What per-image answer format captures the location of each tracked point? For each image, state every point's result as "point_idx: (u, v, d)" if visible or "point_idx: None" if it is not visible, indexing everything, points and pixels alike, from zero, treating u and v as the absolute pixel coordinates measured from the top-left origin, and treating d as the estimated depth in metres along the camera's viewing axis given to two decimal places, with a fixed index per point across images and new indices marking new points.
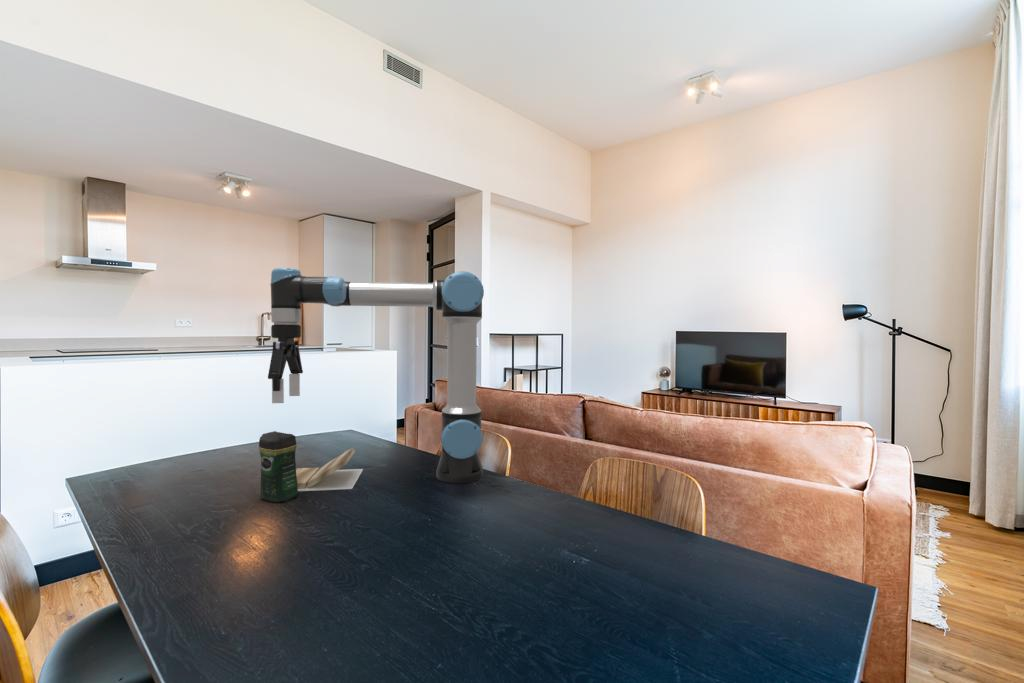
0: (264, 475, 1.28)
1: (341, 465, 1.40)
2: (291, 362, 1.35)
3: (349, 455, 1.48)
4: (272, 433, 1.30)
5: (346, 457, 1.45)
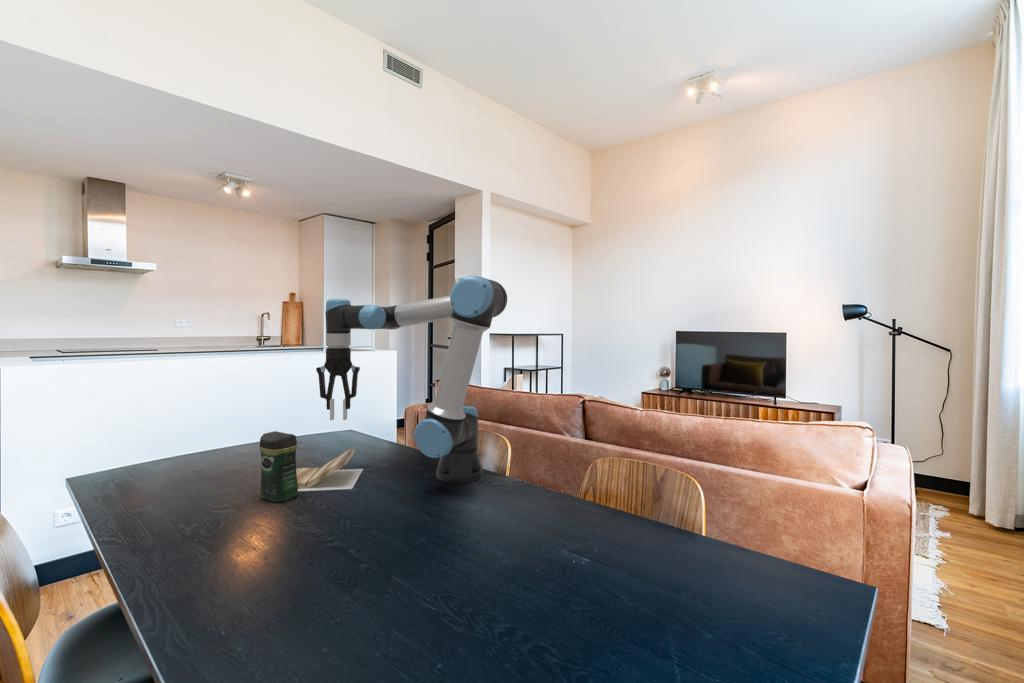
0: (265, 475, 1.28)
1: (341, 465, 1.40)
2: None
3: (349, 455, 1.48)
4: (273, 433, 1.30)
5: (346, 457, 1.45)
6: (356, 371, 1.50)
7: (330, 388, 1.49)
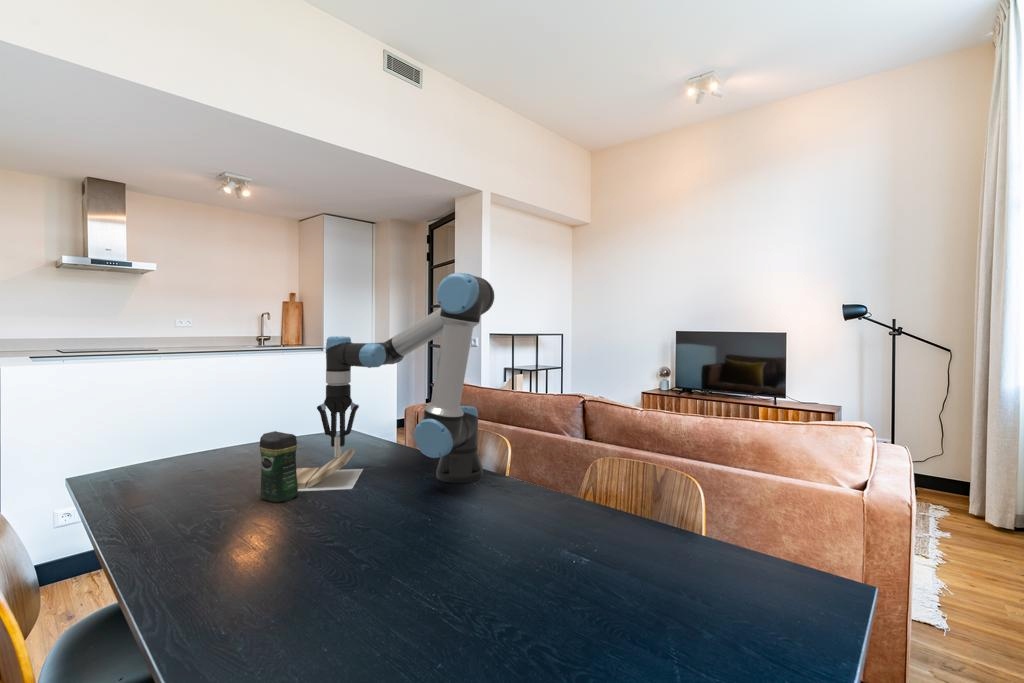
0: (265, 475, 1.28)
1: (341, 465, 1.40)
2: None
3: (349, 455, 1.48)
4: (273, 433, 1.30)
5: (346, 457, 1.45)
6: (355, 409, 1.50)
7: (333, 425, 1.50)
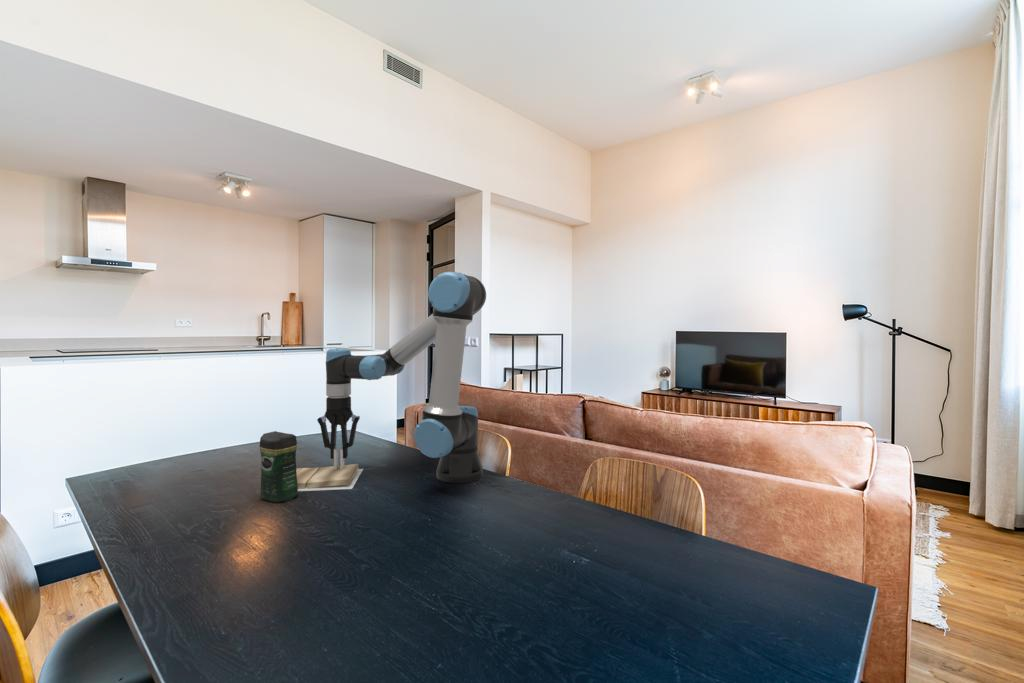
0: (265, 475, 1.28)
1: (345, 482, 1.40)
2: None
3: (354, 473, 1.49)
4: (273, 433, 1.30)
5: (351, 475, 1.45)
6: (356, 421, 1.51)
7: (333, 437, 1.50)
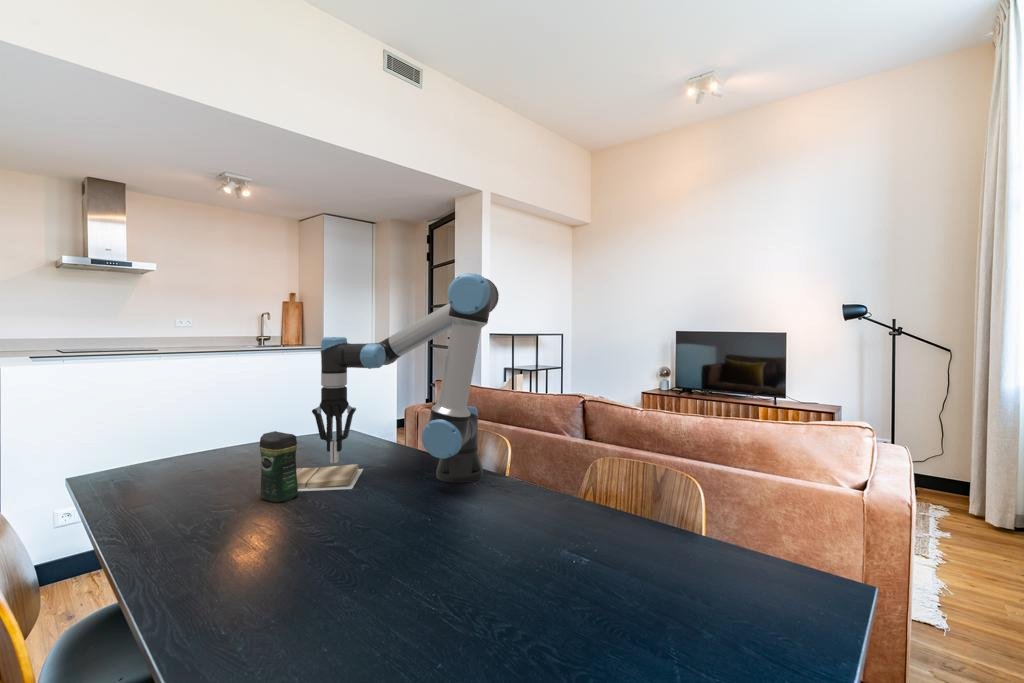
0: (265, 475, 1.28)
1: (345, 483, 1.40)
2: None
3: (354, 473, 1.49)
4: (273, 433, 1.30)
5: (351, 475, 1.45)
6: (351, 412, 1.44)
7: (329, 429, 1.44)
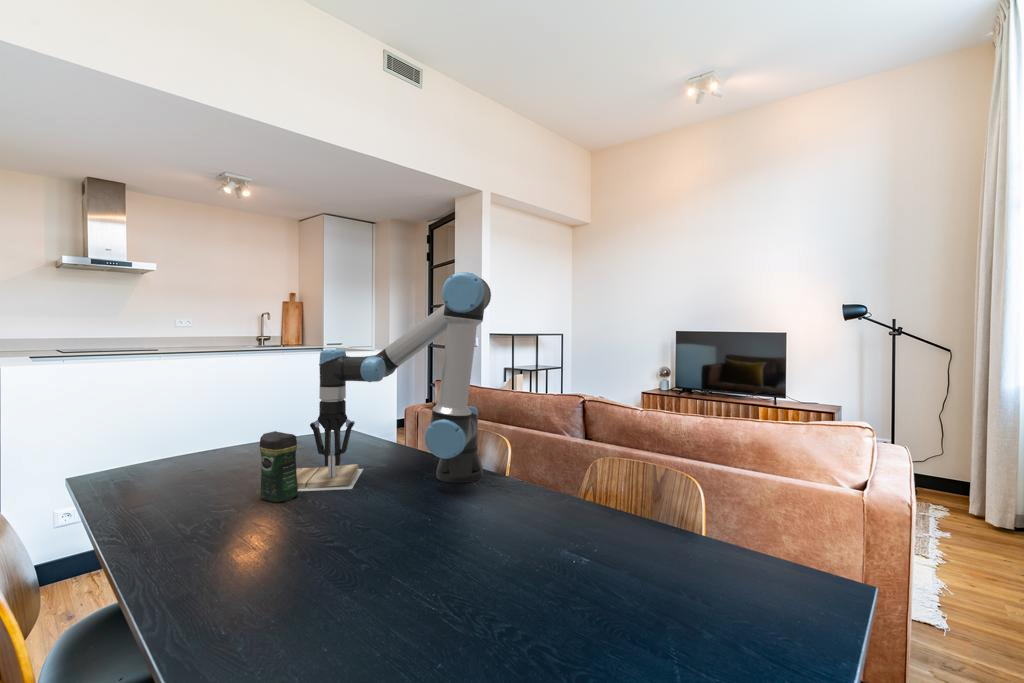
0: (265, 475, 1.28)
1: (345, 483, 1.40)
2: None
3: (354, 473, 1.49)
4: (273, 433, 1.30)
5: (351, 475, 1.45)
6: (350, 426, 1.43)
7: (327, 443, 1.42)
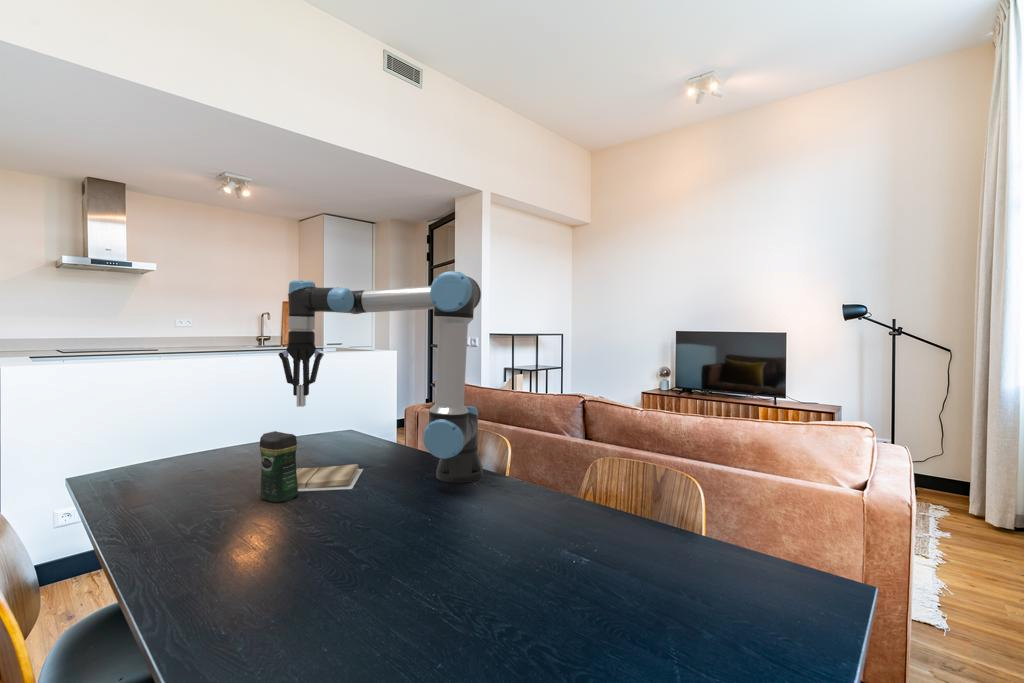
0: (265, 475, 1.28)
1: (345, 483, 1.40)
2: None
3: (354, 473, 1.49)
4: (273, 433, 1.30)
5: (351, 475, 1.45)
6: (319, 357, 1.45)
7: (296, 373, 1.44)
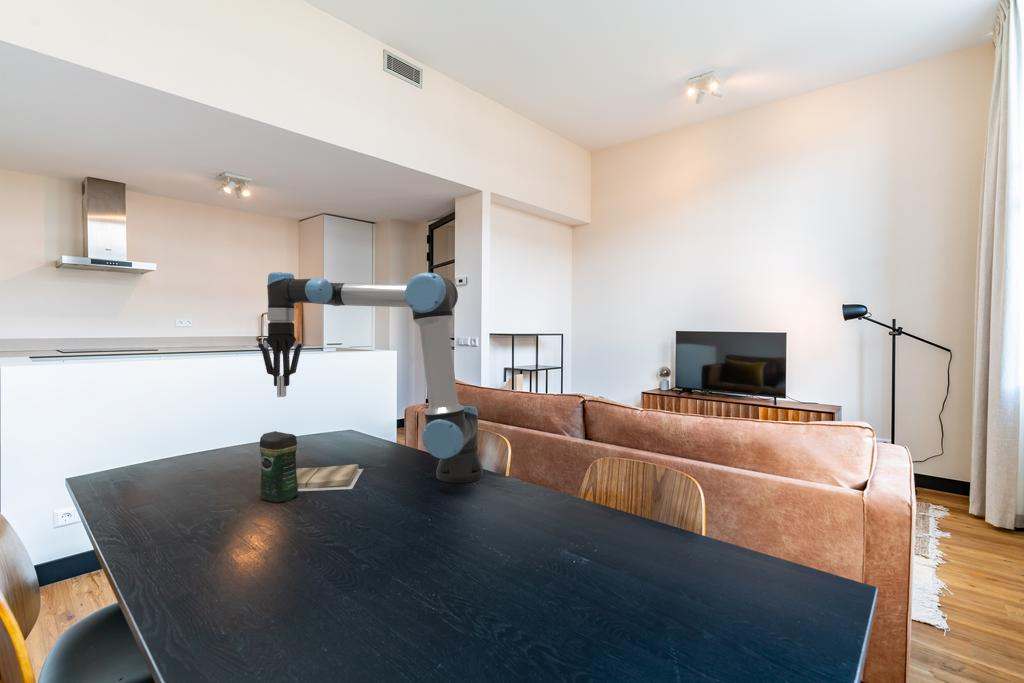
0: (265, 475, 1.28)
1: (345, 483, 1.40)
2: None
3: (354, 473, 1.49)
4: (273, 433, 1.30)
5: (351, 475, 1.45)
6: (298, 348, 1.46)
7: (276, 364, 1.46)
